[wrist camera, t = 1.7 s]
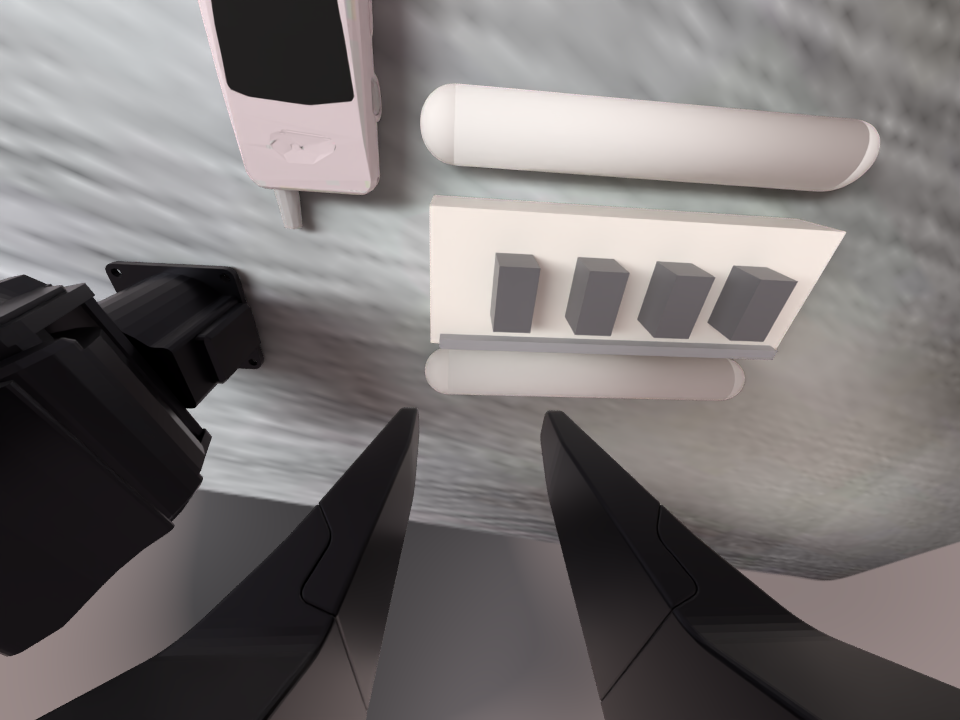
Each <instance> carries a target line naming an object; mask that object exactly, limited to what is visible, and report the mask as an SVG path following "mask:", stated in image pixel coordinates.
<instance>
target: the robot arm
mask: <svg viewBox="0 0 960 720" xmlns="http://www.w3.org/2000/svg"><path fill="white" fill-rule="evenodd" d="M117 269H118V270H120V272H121V273H122V274H121V273H119V272H118V271H117ZM105 270H106V273H107V275H108V277H109V279H110V281H111V283H112V285H113V286H114V288H115V290H116V292H117V293H116V294H114V295H112V296H110V297H108V298H106V299H104V300H101V301H99V302H96V300H95V299H94V298H93V296H95V294H94V293H93V292H92V291H91V290H90V288H89V287H88V286H87V285H86V284H85V283H81V284H76V285H71V286H66V287H63V286H62V285H58V286H52V285H51V284H45V283H43V282H40V281H38V280H36V279H33V278H31V277H29V276H26V275H19V276H15V277H10V278H7V279H4V280H1V281H0V654H2V655H4V656H13V655H16V654H18V653H21V652H23V651H24V650H26V649H28V648H29V647H31V646H33V645H34V644H36V643H38V642H39V641H41V640H42V639H44V638H46V637H47V636H49V635H51V634H52V633H54V632H55V631H57V630H59V629H60V628H61V627H63V626H64V625H65V624H66V623H67V622H68V621H69V620H70V619H71V618H72V617H73V616H74V615H75V614H76V613H77V612H78V610H80V609H81V608H82V606H83V605H84V604H85V603H86V602H87V601H88V600H89V599H90V598H91V597H92V596H93V595H94V594H95V593H96V592H97V591H98V590H99V589H100V588H101V587H102V585H104V583H106V582H107V581H108V580H109V579H110V578H111V577H112V576H113V575H114V574H115V573H116V572H117V571H118V570H119V569H120V568H121V567H123V566H124V565H125V564H126V563H127V562H129V561H130V560H131V559H132V558H133V557H135V556H136V555H137V554H138V553H139V552H141V551H142V550H143V549H145V548H146V547H148V546H149V545H151V544H152V543H154V542H155V541H157V540H158V539H159V538H161V537H162V536H164V535H165V534H167V533H168V532H170V531H171V530H172V529H173V528H174V524H173V523H172V521H173V520H174V519H175V518H176V517H177V515H178V514H179V513H180V512H181V511H182V510H183V509H184V507H185V506H186V504H187V503H188V502H189V500H190V499H191V497H192V496H193V495H194V494H195V492H196V491H197V489H198V488H199V487H200V485H201V483H202V480H203V477H202V476H201V474H200V471H201V469H202V466H203V462H204V459H205V456H206V453H207V450H208V447H209V444H210V441H211V438H212V436H211V435H210V434H209V432H208V431H207V430H206V429H202V428H201V426H200V425H199V424H198V423H197V422H196V420H195V419H194V418H193V417H192V416H191V414H190V413H189V412H188V411H187V410H186V408H195V407H196V406H197V405H198V404H199V403H200V402H201V401H202V400H203V399H204V398H205V397H206V396H207V395H208V393H209V392H210V391H211V390H212V389H213V388H214V387H215V386H216V385H217V384H223V383H225V382H226V381H227V380H228V379H229V377H230V376H231V375H232V374H233V373H234V372H235V371H236V370H237V369H238V368H242V369H258V368H260V367H261V366H262V364H263V363H264V357H263V354H262V351H261V347H260V343H261V341H260V338H259V335H258V331H257V328H256V325H255V321H254V318H253V315H252V312H251V308H250V307H249V306H248V304H247V302H246V299H245V295H244V292H243V289H242V286H241V282H240V279H239V276H238V274H237V272H236V271H235V270H234V269H232V268H230V267H226V266H207V265H186V264H165V263H144V262H124V261H116V262H112V263H110V264H108V265H107V266H106V268H105ZM224 273H225V274H227V275H228V276H229V277H230V280H229V279H227V278H226V277H225V276H224ZM252 359H254V360H256V361H257V362H254V361H253V360H252ZM418 444H419V412H418V409H417V408H405V407H404V408H401V409H400V410H399V412H398V413H397V414H396V415H395V416H394V417H393V418H392V420H391V421H390V422H389V423H388V424H387V425H386V426H385V428H384V429H383V430H382V431H381V432H380V433H379V434H378V436H377V437H376V438H375V439H374V440H373V441H372V442H371V444H370V445H369V446H368V447H367V448H366V449H365V450H364V452H363V453H362V454H361V455H360V456H359V457H358V458H357V460H356V461H355V462H354V463H353V464H352V465H351V466H350V468H349V469H348V470H347V471H346V472H345V473H344V474H343V476H342V477H341V478H340V479H339V480H338V481H337V482H336V484H335V485H334V486H333V487H332V488H331V489H330V490H329V492H328V493H327V494H326V495H325V496H324V497H323V498H322V500H321V501H320V502H319V505H316V506H315V507H314V508H313V510H312V511H311V512H310V513H309V514H308V515H307V517H306V518H305V519H304V520H303V521H302V522H301V523H300V524H299V525H298V526H297V527H296V529H295V530H294V531H293V532H292V533H291V534H290V535H289V536H288V537H287V538H286V539H285V541H283V542H282V543H281V544H280V545H279V546H278V547H277V548H276V549H275V550H274V551H273V552H272V553H271V554H270V555H269V556H268V557H267V558H266V559H265V560H264V561H263V562H262V563H261V564H260V565H259V566H258V567H257V568H256V569H255V570H253V571H252V572H251V573H250V574H249V575H248V576H247V577H246V578H245V579H244V580H243V581H242V582H241V583H240V584H239V585H238V586H237V587H236V588H235V589H233V590H232V591H231V592H230V593H229V594H228V595H227V596H226V597H225V598H224V599H223V600H222V601H221V602H220V603H219V604H218V605H217V606H216V607H215V608H214V609H212V610H211V611H210V612H209V613H208V614H207V615H206V616H205V617H204V618H203V619H202V620H201V621H200V622H199V623H198V624H196V625H195V626H194V627H193V628H192V629H191V630H189V631H188V632H187V633H186V634H185V635H183V636H182V637H181V638H180V639H179V640H177V641H175V642H174V643H173V644H172V645H170V646H169V647H167V648H166V649H164V650H163V651H161V652H160V653H158V654H157V655H155V656H154V657H152V658H150V659H148V660H147V661H145V662H143V663H141V664H139V665H138V666H135V667H134V668H132V669H130V670H128V671H126V672H124V673H122V674H120V675H119V676H117V677H115V678H113V679H111V680H109V681H107V682H105V683H104V684H102V685H100V686H98V687H96V688H94V689H92V690H91V691H89V692H87V693H85V694H83V695H81V696H79V697H77V698H75V699H74V700H72V701H70V702H68V703H66V704H65V705H62V706H60V707H59V708H57V709H55V710H53V711H51V712H49V713H47V714H46V715H44V716H42V717H40V718H38V719H36V720H366V716H367V712H366V711H367V709H368V706H369V701H370V697H371V692H372V687H373V683H374V678H375V673H376V668H377V663H378V659H379V654H380V650H381V645H382V641H383V636H384V631H385V626H386V622H387V617H388V613H389V608H390V603H391V598H392V594H393V590H394V585H395V580H396V576H397V571H398V566H399V562H400V557H401V552H402V548H403V543H404V538H405V534H406V529H407V524H408V520H409V515H410V510H411V506H412V501H413V495H414V488H415V478H416V467H417V455H418ZM541 448H542V456H543V463H544V471H545V478H546V485H547V492H548V497H549V502H550V506H551V510H552V513H553V517H554V521H555V525H556V529H557V533H558V537H559V541H560V545H561V549H562V553H563V557H564V561H565V564H566V568H567V572H568V576H569V580H570V584H571V588H572V592H573V596H574V600H575V604H576V608H577V611H578V615H579V619H580V623H581V627H582V631H583V635H584V639H585V643H586V646H587V651H588V655H589V658H590V662H591V666H592V670H593V674H594V678H595V682H596V686H597V690H598V694H599V698H600V700H601V701H602V702H601V706H602V710H603V714H604V718H605V720H960V689H959V688H956V687H954V686H951V685H949V684H946V683H944V682H941V681H939V680H937V679H934V678H932V677H929V676H927V675H924V674H922V673H919V672H916V671H914V670H912V669H909V668H906V667H904V666H902V665H899V664H897V663H894V662H892V661H889V660H887V659H885V658H882V657H880V656H877V655H875V654H872V653H870V652H867V651H865V650H862V649H860V648H857V647H855V646H852V645H850V644H847V643H845V642H842V641H840V640H838V639H835V638H833V637H831V636H829V635H827V634H825V633H823V632H821V631H818V630H817V629H815V628H813V627H812V626H810V625H808V624H807V623H805V622H804V621H802V620H801V619H799V618H798V617H796V616H795V615H793V614H792V613H791V612H789V611H788V610H787V609H785V608H784V607H782V606H781V605H780V604H779V603H778V602H776V601H775V600H774V599H773V598H771V597H770V596H769V595H768V594H766V593H765V592H764V591H763V590H762V589H760V588H759V587H758V586H757V585H755V584H754V583H753V582H752V581H750V580H749V579H748V578H747V577H745V576H744V575H743V574H742V573H741V572H739V571H738V570H737V569H736V568H734V567H733V566H732V565H731V564H729V563H728V562H727V561H726V560H725V559H723V558H722V557H721V556H720V555H718V554H717V553H716V552H715V551H714V550H712V549H711V548H710V547H709V546H708V545H706V544H705V543H704V542H703V541H702V540H701V539H699V538H698V537H697V536H696V535H695V534H694V533H692V532H691V531H690V530H689V529H688V528H687V527H686V526H685V525H684V524H682V523H681V522H680V521H679V520H678V519H677V518H676V517H675V516H674V515H673V514H672V513H670V512H669V511H668V510H667V509H666V508H665V507H664V506H663V505H660V503H659V501H657V500H656V499H655V498H654V497H653V496H652V495H651V494H650V493H649V492H648V491H647V490H646V489H645V488H644V487H643V486H641V485H640V484H639V483H638V482H637V481H636V480H635V479H634V478H633V477H632V476H631V475H630V474H629V473H628V472H627V471H625V470H624V469H623V468H622V467H621V466H620V465H619V464H618V463H617V462H616V461H615V460H614V459H613V458H612V457H611V456H609V455H608V454H607V453H606V452H605V451H604V450H603V449H602V448H601V447H600V446H599V445H598V444H597V443H596V442H595V441H593V440H592V439H591V438H590V437H589V436H588V435H587V434H586V433H585V432H584V431H583V430H582V429H581V428H580V427H579V426H577V425H576V424H575V423H574V422H573V421H572V420H571V419H570V418H569V417H568V416H567V415H566V414H565V413H564V412H562V411H547V412H546V413H545V416H544V421H543V425H542V430H541Z"/></svg>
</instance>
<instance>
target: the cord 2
mask: <svg viewBox="0 0 960 720" xmlns="http://www.w3.org/2000/svg"><path fill="white" fill-rule="evenodd" d="M420 128H421V134H422V138H423V140H424V143H425V145H426V147H427V148H428V150H429V151H430V152H431V153H432V155H433V156H434V157H436V158H437V159H438V160H440V161H441V162H444V163H446V164H450V165H457V166H471V167H485V168H499V169H512V170H526V171H540V172H554V173H568V174H582V175H596V176H609V177H623V178H637V179H651V180H665V181H679V182H692V183H706V184H720V185H734V186H748V187H762V188H776V189H789V190H803V191H817V192H822V191H831V190H835V189H839V188H841V187H844V186H846V185H848V184H850V183H852V182H854V181H855V180H857V179H858V178H859V177H861V176H862V175H863V174H864V173H865V172H866V171H867V170H868V169H869V168H870V167H871V166H872V164H873V163H874V161H875V160H876V158H877V156H878V153H879V149H880V137H879V134H878V132H877V130H876V129H875V128H874V127H873V126H872V125H871V124H869V123H867V122H865V121H862V120H857V119H847V118H836V117H825V116H814V115H803V114H791V113H780V112H769V111H758V110H747V109H736V108H724V107H713V106H702V105H691V104H680V103H669V102H658V101H646V100H635V99H624V98H613V97H602V96H591V95H579V94H568V93H557V92H546V91H535V90H524V89H513V88H501V87H490V86H479V85H468V84H457V83H456V84H446V85H443V86H441V87H439V88H437V89H435V90H434V91H433V92H432V93H431V94H430V95H429V97H428V98H427V99H426V101H425V103H424V106H423V108H422V112H421V116H420Z"/></svg>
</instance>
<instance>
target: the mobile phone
mask: <svg viewBox="0 0 960 720" xmlns="http://www.w3.org/2000/svg"><path fill="white" fill-rule="evenodd" d="M198 3H199V7H200V11H201V15H202V18H203V22H204V26H205V30H206V33H207V37H208V41H209V45H210V48H211V52H212V56H213V60H214V63H215V67H216V71H217V75H218V78H219V82H220V86H221V90H222V93H223V96H224V99H225V103H226V106H227V109H228V113H229V116H230V119H231V123H232V126H233V129H234V133H235V136H236V139H237V143H238V146H239V149H240V153H241V156H242V159H243V163H244V166H245V169H246V172H247V174H248V175H249V177H250V178H251V180H252V181H254V182H255V183H256V184H257V185H258V186H260V187H263V188H267V189H274V192H275V196H276V199H277V202H278V206H279V209H280V212H281V216H282V219H283V222H284V226H285V228H287V229H300V228H301V227H302V216H301V206H300V196H299V191H308V192H323V193H339V194H354V195H365V194H367V193H369V192H370V191H372V190H373V189H375V187H376V186H377V184H378V183H379V179H380V168H379V150H378V132H377V122H378V121H380V118H381V115H382V102H381V92H380V86H379V82H378V78H377V77H376V75H375V74H374V63H373V47H372V36H373V15H372V0H198Z"/></svg>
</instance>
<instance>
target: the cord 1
mask: <svg viewBox="0 0 960 720" xmlns="http://www.w3.org/2000/svg"><path fill="white" fill-rule="evenodd" d="M425 376H426V379H427V381H428V383H429V385H430V386H431V387H432V388H433V389H434V390H436V391H438V392H440V393H443V394H459V395H501V396H544V397H586V398H629V399H672V400H714V401H720V400H727V399H730V398H732V397H734V396H736V395H737V394H738V393H739V392H740V391H741V390H742V388H743V386H744V383H745V375H744V371H743V369H742V368H741V366H740V365H739V364H738V363H737V362H735V361H734V360H732V359H730V358H700V357H670V356H639V355H609V354H578V353H548V352H517V351H487V350H456V349H438V350H436V351H435V352H433V353H432V354H431V355H430V357H429V358H428V360H427V362H426V365H425Z"/></svg>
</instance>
